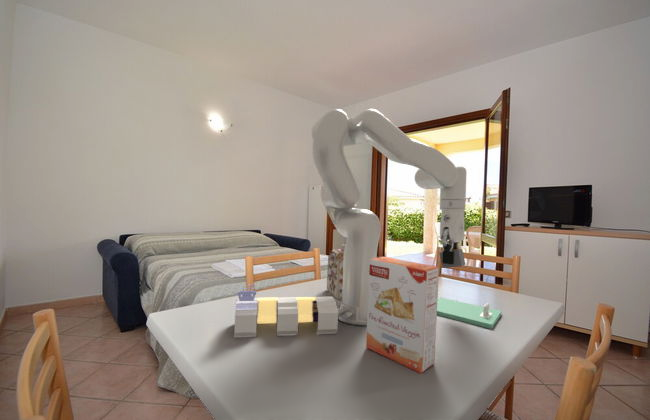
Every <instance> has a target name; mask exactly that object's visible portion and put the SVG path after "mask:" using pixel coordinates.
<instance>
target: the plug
mask: <svg viewBox="0 0 650 420" xmlns="http://www.w3.org/2000/svg"><path fill="white" fill-rule="evenodd" d="M452 252H454V262H453V264H445V263H443V250H441V251H439V258H440V263H441V268H442V269H445V268H448V269H449V268H459V267H463V266H465V265H466V261H465V256H464V252H463V248H459V249H454V250H453V251H452Z"/></svg>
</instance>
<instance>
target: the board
mask: <svg viewBox="0 0 650 420" xmlns="http://www.w3.org/2000/svg"><path fill="white" fill-rule="evenodd" d="M437 316H440V317H444V318H448V319H452V320H456V321H460V322H463V323H467V324H471V325H476V326H479V327H484V328H487V329H491V330H493V328H494V326H496V324H497V322H498V321H499V319H500V318H501V316H502V310H498V309H495V308H494V309H493V308H490V303H488V302H486V303H485V304H484V305H483V306H482V305H481V306H480V305H475V304H471V303H467V302H462V301H458V300H453V299H448V298H444V297H438V300H437Z"/></svg>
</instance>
